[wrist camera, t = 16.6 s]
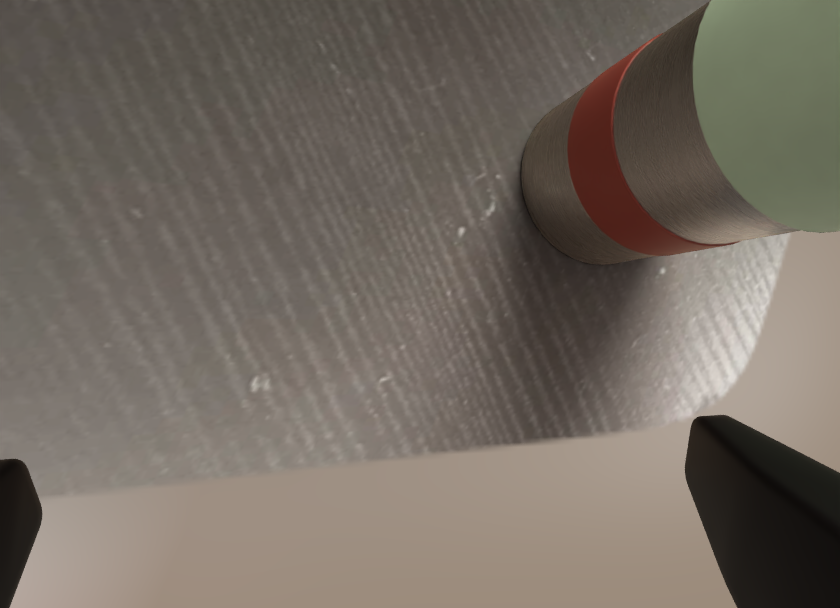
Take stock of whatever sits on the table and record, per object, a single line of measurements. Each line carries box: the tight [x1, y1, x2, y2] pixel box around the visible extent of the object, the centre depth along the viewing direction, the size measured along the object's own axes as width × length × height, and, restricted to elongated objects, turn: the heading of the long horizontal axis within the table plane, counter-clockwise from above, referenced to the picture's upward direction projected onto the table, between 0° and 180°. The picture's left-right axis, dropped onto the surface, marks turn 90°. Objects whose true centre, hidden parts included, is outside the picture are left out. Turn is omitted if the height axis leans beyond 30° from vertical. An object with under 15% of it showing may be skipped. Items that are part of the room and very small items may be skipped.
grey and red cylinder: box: [521, 1, 800, 265], centre depth 19 cm, size 6×6×9 cm
